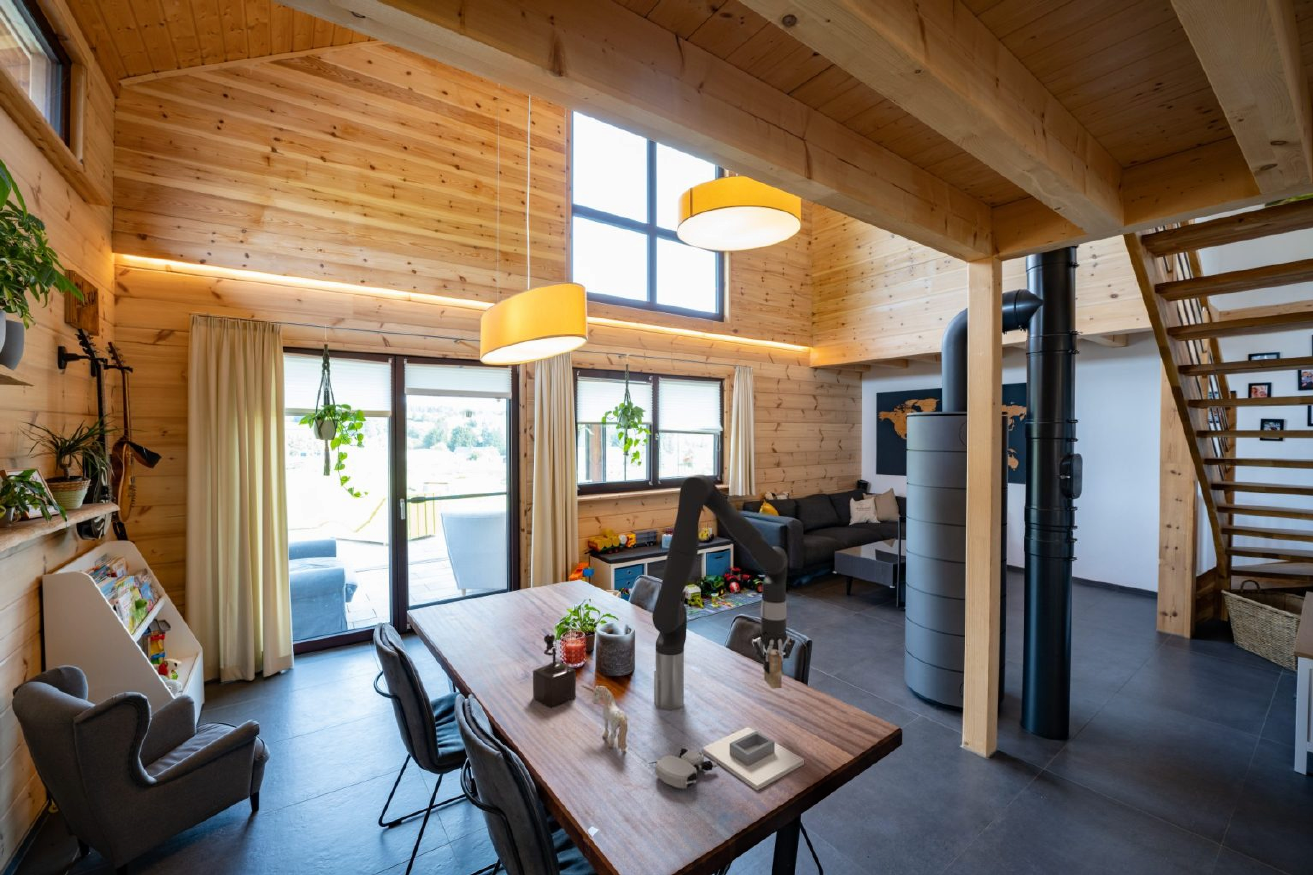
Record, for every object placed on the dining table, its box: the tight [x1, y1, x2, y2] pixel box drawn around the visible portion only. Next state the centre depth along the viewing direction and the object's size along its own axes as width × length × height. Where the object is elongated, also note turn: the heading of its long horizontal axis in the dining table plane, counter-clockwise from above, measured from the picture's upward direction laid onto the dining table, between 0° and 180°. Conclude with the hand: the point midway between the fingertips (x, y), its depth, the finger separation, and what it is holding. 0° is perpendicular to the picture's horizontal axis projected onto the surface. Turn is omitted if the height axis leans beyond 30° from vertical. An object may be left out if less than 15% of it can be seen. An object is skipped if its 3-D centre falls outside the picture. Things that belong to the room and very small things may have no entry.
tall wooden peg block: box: [763, 649, 783, 690], centre depth 162 cm, size 3×6×9 cm, turn 10°
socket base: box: [701, 726, 805, 791], centre depth 145 cm, size 18×20×4 cm
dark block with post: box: [532, 633, 577, 709], centre depth 180 cm, size 16×11×18 cm
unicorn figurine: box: [580, 684, 629, 752], centre depth 153 cm, size 7×20×13 cm, turn 43°
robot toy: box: [648, 747, 718, 789], centre depth 137 cm, size 12×4×15 cm
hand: (772, 672), depth 162 cm, fingers closed on tall wooden peg block, 3 cm apart
